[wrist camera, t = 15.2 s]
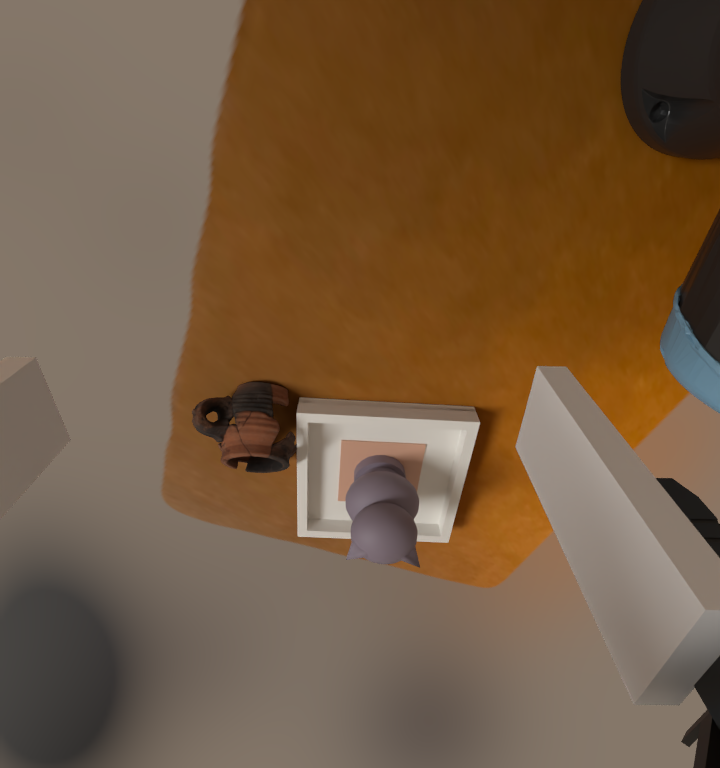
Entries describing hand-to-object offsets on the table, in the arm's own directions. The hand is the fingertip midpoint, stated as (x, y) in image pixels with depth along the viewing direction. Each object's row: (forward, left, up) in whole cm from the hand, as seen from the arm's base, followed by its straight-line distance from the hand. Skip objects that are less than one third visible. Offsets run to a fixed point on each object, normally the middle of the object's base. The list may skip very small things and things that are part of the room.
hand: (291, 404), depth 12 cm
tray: (-7, +31, -31) cm, 45 cm away
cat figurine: (-7, +31, -30) cm, 44 cm away
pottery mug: (+9, +23, -32) cm, 40 cm away
